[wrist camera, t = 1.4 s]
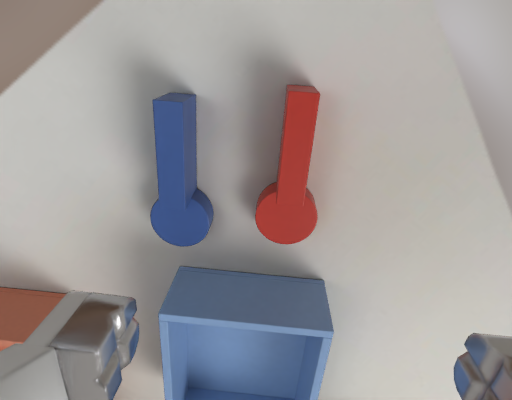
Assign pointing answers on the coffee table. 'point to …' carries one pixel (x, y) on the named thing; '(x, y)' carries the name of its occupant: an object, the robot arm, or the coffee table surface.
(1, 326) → the red bin
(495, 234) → the coffee table surface
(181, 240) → the blue spoon
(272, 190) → the red spoon
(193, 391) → the blue bin
